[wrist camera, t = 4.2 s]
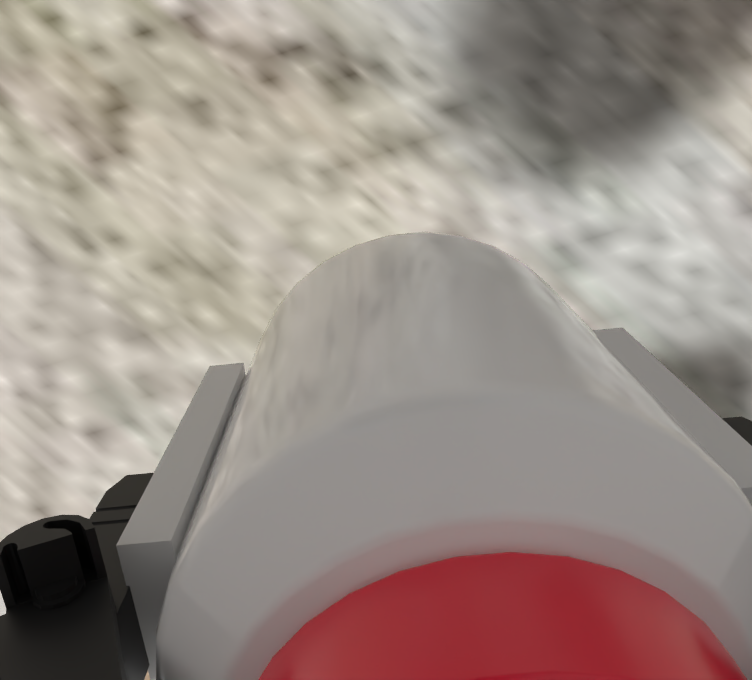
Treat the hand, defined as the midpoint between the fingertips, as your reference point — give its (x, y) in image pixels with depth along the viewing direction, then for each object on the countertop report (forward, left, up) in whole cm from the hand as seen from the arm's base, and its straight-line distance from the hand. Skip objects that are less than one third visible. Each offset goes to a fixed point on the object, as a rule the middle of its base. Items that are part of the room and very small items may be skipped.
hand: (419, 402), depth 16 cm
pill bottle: (0, 0, -1) cm, 1 cm away
